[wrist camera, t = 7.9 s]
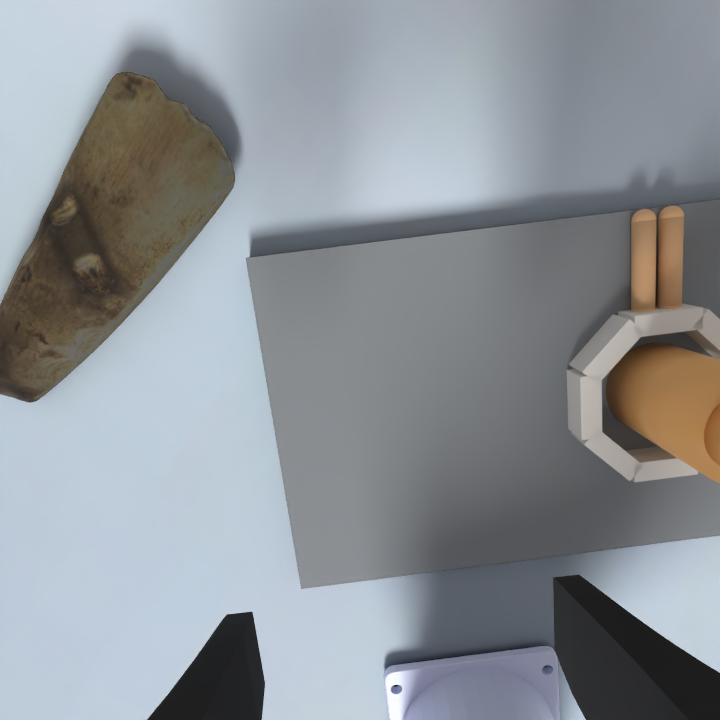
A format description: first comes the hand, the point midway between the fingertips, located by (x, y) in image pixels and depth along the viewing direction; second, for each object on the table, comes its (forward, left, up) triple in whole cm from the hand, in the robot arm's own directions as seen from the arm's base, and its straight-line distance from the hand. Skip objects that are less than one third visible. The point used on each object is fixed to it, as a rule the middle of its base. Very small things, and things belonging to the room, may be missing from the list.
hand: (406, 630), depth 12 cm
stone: (+10, +10, -10) cm, 17 cm away
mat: (+2, -6, -10) cm, 12 cm away
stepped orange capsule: (+2, -11, -9) cm, 15 cm away
